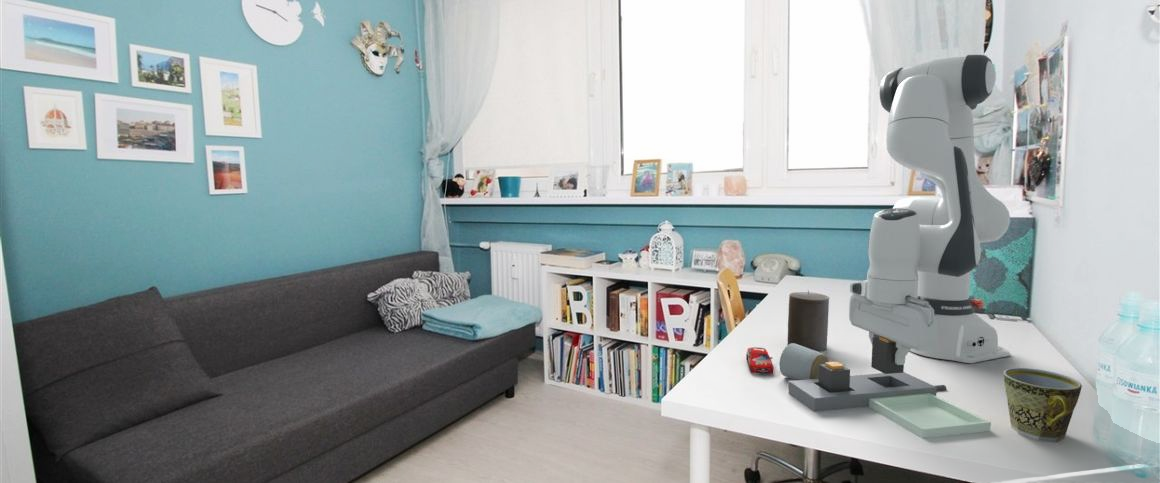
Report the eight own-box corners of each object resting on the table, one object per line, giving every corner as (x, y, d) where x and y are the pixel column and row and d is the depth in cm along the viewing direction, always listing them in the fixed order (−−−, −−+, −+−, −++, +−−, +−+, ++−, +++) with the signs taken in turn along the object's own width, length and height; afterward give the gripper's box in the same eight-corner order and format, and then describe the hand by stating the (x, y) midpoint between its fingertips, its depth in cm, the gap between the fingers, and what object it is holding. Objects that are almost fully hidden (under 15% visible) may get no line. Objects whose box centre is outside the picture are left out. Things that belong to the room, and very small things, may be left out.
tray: (929, 402, 106) (929, 392, 106) (990, 432, 93) (990, 422, 93) (868, 408, 104) (868, 398, 104) (922, 440, 91) (922, 429, 91)
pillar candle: (788, 350, 139) (790, 293, 137) (785, 339, 148) (787, 286, 147) (829, 354, 136) (832, 295, 135) (824, 342, 146) (826, 287, 144)
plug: (888, 365, 111) (890, 334, 110) (903, 372, 107) (905, 340, 106) (871, 367, 110) (872, 335, 110) (885, 373, 106) (886, 341, 106)
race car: (775, 378, 121) (775, 361, 121) (749, 376, 123) (750, 359, 122) (768, 358, 134) (768, 343, 134) (745, 357, 135) (745, 342, 135)
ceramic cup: (989, 418, 98) (993, 365, 97) (1056, 425, 96) (1060, 370, 94) (1025, 453, 86) (1029, 393, 85) (1102, 461, 83) (1108, 399, 82)
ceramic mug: (812, 391, 113) (814, 355, 112) (777, 379, 119) (779, 345, 119) (839, 380, 119) (841, 346, 118) (805, 370, 126) (806, 337, 125)
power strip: (926, 382, 116) (928, 348, 115) (962, 399, 107) (964, 362, 106) (788, 395, 111) (789, 359, 110) (814, 413, 102) (815, 374, 101)
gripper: (949, 301, 97) (944, 376, 99) (871, 281, 117) (868, 343, 119) (918, 303, 96) (913, 378, 98) (844, 282, 116) (841, 345, 118)
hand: (888, 359), depth 109 cm, fingers closed on plug, 4 cm apart
